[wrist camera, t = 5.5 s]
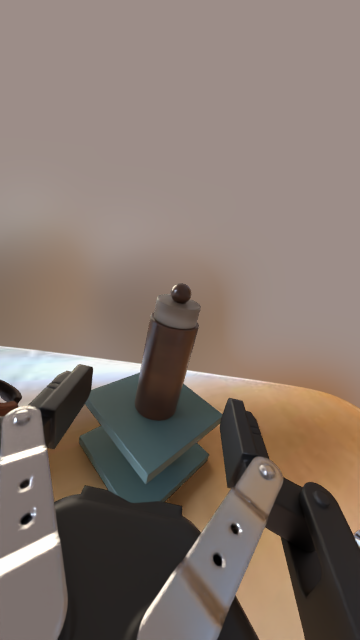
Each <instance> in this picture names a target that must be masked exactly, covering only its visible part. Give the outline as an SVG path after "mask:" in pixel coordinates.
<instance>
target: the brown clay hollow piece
mask: <svg viewBox="0 0 360 640" xmlns="http://www.w3.org/2000/svg"><path fill="white" fill-rule="evenodd" d="M0 396H1V398H2V399H3V400H5V401H6V403H0V417H2V416H6V415H7V414H8V413H9V412H10V411H12V410H14V409H16V408H19V407H18V403H19V401H20V400H21V399H22V396H21V393H20V392H19V391H18V390H17V389H16V388H15V387H13V386H12V385H10V384H8V383H6V382H5V381H2V380H0Z"/></svg>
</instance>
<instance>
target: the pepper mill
mask: <svg viewBox="0 0 360 640" xmlns="http://www.w3.org/2000/svg"><path fill="white" fill-rule="evenodd" d="M190 298H191V290H190V288H189V287H188V286H187V285H186V284H183V283H180V284H176V285H175V286H174V287H173V288H172V290H171V295H168V294H166V295H159V296H158V297H157V302H156V307H155V312H154V313H152V314H151V317H150V322H149V328H148V333H147V338H146V344H145V349H144V354H143V360H142V365H141V370H140V376H139V381H138V386H137V392H136V397H135V407H136V410H137V411H138V412H139V413H140V414H141V415H142V416H143V417H145V418H147V419H150V420H156V421H161V420H166V419H168V418H170V417H172V416H173V415H174V413H175V412H176V408H177V405H178V401H179V397H180V394H181V390H182V386H183V382H184V379H185V375H186V371H187V368H188V364H189V360H190V357H191V353H192V349H193V346H194V342H195V338H196V335H197V331H198V327H199V325H198V323H197V320H198V316H199V312H200V308H201V306H200V305H199V304H198V303H197V302H195V301H193V300H191V299H190Z"/></svg>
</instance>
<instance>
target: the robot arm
mask: <svg viewBox="0 0 360 640" xmlns="http://www.w3.org/2000/svg"><path fill="white" fill-rule="evenodd" d="M92 375H93V367H90V366H86V365H81V364H79V365H77V366H76V368H75V369H74V370H73V371H72V372H70V371H65V372H63V373H61V374H59V375H58V376H57V377H56V378H55V379H54V380H53V381H52V383H50V384H49V385H48V386H47V388H45V389H44V390H43V391H42V392H41V393H40V394H39V395H38V396H37V397H36V398H35V399H34V400H33V401H32V402H31V403H30V404H29V405H28V406H24V407H19V408H16V409H14V410H12V411H10V412H9V413H8V414H7V415H6V416H2V417H0V640H259V638H258V636H257V635H256V633H255V631H254V629H253V627H252V625H251V623H250V622H249V620H248V618H247V616H246V614H245V612H244V610H243V608H242V607H241V605H240V603H239V601H238V599H237V597H236V592H237V590H238V588H239V585H240V583H241V581H242V578H243V576H244V574H245V572H246V569H247V567H248V565H249V562H250V560H251V558H252V555H253V553H254V551H255V549H256V546H257V544H258V542H259V539H260V537H261V535H262V532H263V530H264V528H265V527H266V528H267V529H269V530H271V531H272V532H274V533H276V534H277V535H279V536H281V540H282V545H283V549H284V553H285V557H286V561H287V565H288V570H289V574H290V578H291V582H292V586H293V590H294V595H295V599H296V603H297V607H298V611H299V615H300V620H301V624H302V628H303V632H304V636H305V640H360V547H359V545H358V543H357V541H356V539H355V537H354V535H353V533H352V531H351V529H350V527H349V525H348V523H347V521H346V519H345V517H344V515H343V513H342V511H341V509H340V507H339V505H338V503H337V501H336V499H335V498H334V497H333V496H332V494H331V493H330V492H329V491H327V490H326V489H325V488H324V487H322V486H321V485H319V484H317V483H313V482H308V483H306V484H305V485H304V486H303V487H301V486H299V485H297V484H295V483H293V482H291V481H289V480H287V479H286V478H284V477H283V475H282V473H281V471H280V469H279V468H278V467H277V465H276V464H275V463H273V462H272V461H271V460H270V459H269V456H268V453H267V450H266V447H265V444H264V441H263V438H262V436H261V432H260V429H259V426H258V423H257V420H256V419H255V417H254V416H253V415H252V413H251V412H249V411H246V410H245V407H244V403H243V401H241V400H237V399H232V398H229V399H228V401H227V404H226V406H225V409H224V412H223V415H222V418H221V422H220V433H221V441H222V449H223V457H224V464H225V472H226V480H227V488H231V490H230V491H229V493H228V494H227V496H226V497H225V499H224V500H223V502H222V503H221V505H220V506H219V507H218V509H217V510H216V512H215V513H214V515H213V516H212V518H211V519H210V521H209V522H208V524H207V525H206V527H205V528H204V530H203V531H202V533H201V532H200V531H199V530H198V529H197V528H196V526H195V525H194V524H192V523H191V522H190V521H189V520H188V519H186V518H185V517H183V516H182V506H179V505H174V504H169V503H165V502H160V501H153V502H141V503H131V502H129V501H127V500H125V499H123V498H121V497H120V496H118V495H116V494H114V493H112V492H111V491H109V490H104V489H100V488H95V487H90V486H86V485H85V486H84V488H83V490H82V492H81V494H77V495H72V496H68V497H65V498H62V499H60V500H58V501H56V502H54V497H53V490H52V482H51V474H50V467H49V459H48V452H47V448H50V449H55V448H56V446H57V445H58V443H59V442H60V440H61V439H62V437H63V436H64V434H65V433H66V431H67V430H68V428H69V427H70V425H71V424H72V422H73V421H74V419H75V418H76V416H77V415H78V413H79V412H80V410H81V409H82V407H83V406H84V404H85V403H86V401H87V400H88V398H89V395H90V392H91V386H92Z"/></svg>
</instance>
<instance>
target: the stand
mask: <svg viewBox="0 0 360 640" xmlns="http://www.w3.org/2000/svg"><path fill="white" fill-rule="evenodd" d="M139 376H140V373H138V374H135V375H132V376H129V377H126V378H124V379H121V380H118V381H115V382H112V383H110V384H107V385H104V386H101V387H99V388H96V389H93V390H91V392H90V395H89V398H88V400H87V401H86V403H85V405H86V406H87V407H88V409H89V410H90V411H91V413H92V414H93V415H94V417H95V418H96V419H97V421H98V422H99V423H100V425H101V426H99V427H97V428H95V429H93V430H91V431H89V432H87V433H85V434H83V435H81V436H80V438H79V444H80V445H81V447H82V448H83V450H84V452H85V453H86V455H87V456H88V458H89V460H90V461H91V463H92V464H93V466H94V468H95V469H96V471H97V472H98V474H99V476H100V477H101V479H102V480H103V482H104V484H105V485H106V487H107V488H108V490H109V491H111V492H112V493H114V494H116V495H118V496H120V497H121V498H123V499H125V500H127V501H129V502H131V503H141V502H153V501H160V502H165V501H166V500H167V499H168V498H169V497H170V496H171V495H172V494H173V493H174V492H175V491H176V490H177V489H178V488H179V487H180V486H181V485H182V484H183V483H184V482H185V481H186V480H188V479H189V478H190V477H191V476H192V475H193V474H194V473H195V472H196V471H197V470H198V469H199V468H200V467H201V466H202V465H203V464H204V463H205V462H206V461H207V459H208V457H209V454H208V453H207V452H206V451H205V450H204V449H203V448H202V447H201V446H200V445H199V444H198V443H197V442H198V441H199V440H200V439H202V438H203V437H204V436H205V435H206V434H208V433H209V432H210V431H211V430H213V429H214V428H215V427H216V426H217V425H219V424H220V422H221V418H222V415H223V414H221V413H220V412H219V411H218V410H216V409H215V408H214V407H212V406H211V405H210V404H209V403H207V402H206V401H205V400H203V399H202V398H201V397H200V396H198V395H197V394H196V393H194V392H193V391H192V390H191V389H189V388H188V387H187V386H186V385H184V384H183V386H182V390H181V394H180V397H179V401H178V405H177V408H176V412H175V413H174V415H173V416H172V417H170V418H168V419H166V420H161V421H156V420H150V419H147V418H145V417H143V416H142V415H141V414H140V413H139V412H138V411H137V410H136V407H135V397H136V392H137V386H138V381H139Z"/></svg>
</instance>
